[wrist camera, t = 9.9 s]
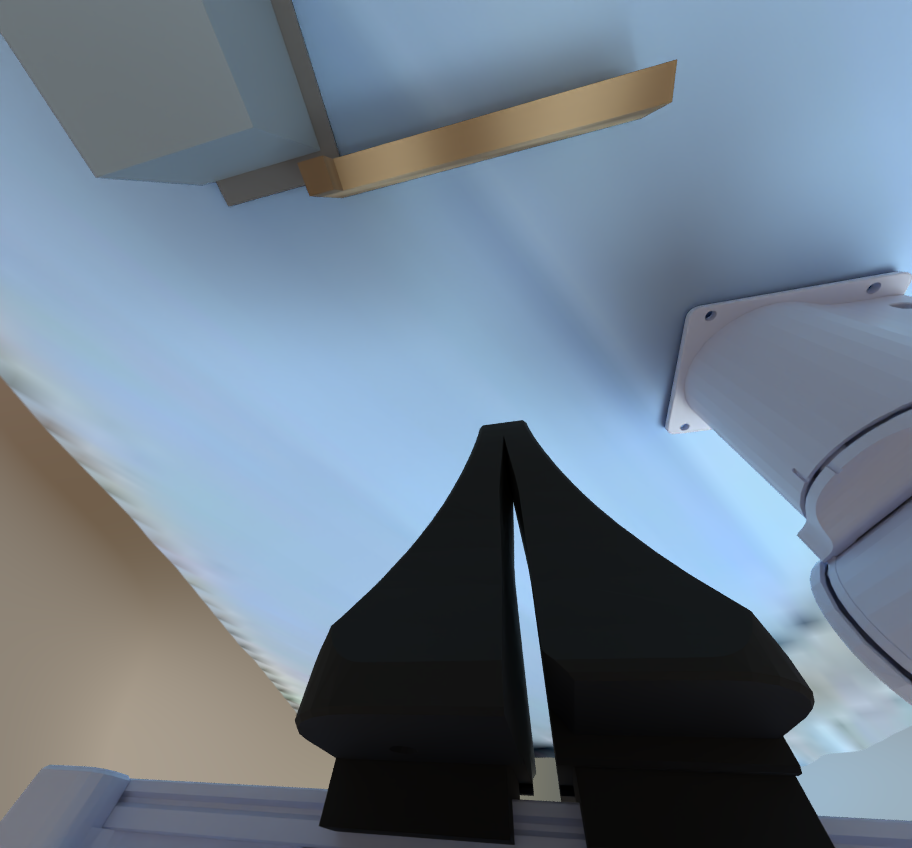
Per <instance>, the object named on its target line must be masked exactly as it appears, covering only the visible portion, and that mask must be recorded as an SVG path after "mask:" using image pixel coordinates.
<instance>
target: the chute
mask: <svg viewBox="0 0 912 848" xmlns="http://www.w3.org/2000/svg"><path fill="white" fill-rule="evenodd" d="M676 65H677V60H673V61H670V62H666V63H663V64H659V65H656V66H652V67H649V68H645V69H642V70H638V71H635V72H632V73H628V74H625V75H621V76H618V77H614V78H611V79H607V80H604V81H600V82H597V83H594V84H590V85H587V86H583V87H580V88H576V89H573V90H569V91H566V92H562V93H559V94H555V95H552V96H549V97H545V98H542V99H538V100H535V101H531V102H528V103H524V104H521V105H517V106H514V107H510V108H507V109H504V110H500V111H497V112H493V113H490V114H486V115H483V116H479V117H476V118H472V119H469V120H466V121H462V122H459V123H455V124H452V125H448V126H445V127H441V128H438V129H434V130H431V131H427V132H424V133H421V134H417V135H414V136H410V137H407V138H403V139H400V140H396V141H393V142H389V143H386V144H383V145H379V146H376V147H372V148H369V149H365V150H362V151H358V152H355V153H351V154H348V155H344V156H341V157H338V158H334V159H332V158H329V157H326V156H323V155H322V156H319V157H315V158H312V159H308V160H305V161H302V162H298V163H297V164H298V166H299V169H300V172H301V174H302V177H303V180H304V183H305V185H306V188H307V191H308V193H309V196H314V197H332V198H344V197H348V196H352V195H356V194H359V193H363V192H367V191H371V190H374V189H378V188H382V187H386V186H389V185H393V184H397V183H401V182H404V181H408V180H412V179H416V178H420V177H423V176H427V175H431V174H435V173H438V172H442V171H446V170H450V169H453V168H457V167H461V166H465V165H468V164H472V163H476V162H480V161H483V160H487V159H491V158H495V157H498V156H502V155H506V154H510V153H513V152H517V151H521V150H525V149H528V148H532V147H536V146H540V145H543V144H547V143H551V142H555V141H558V140H562V139H566V138H570V137H573V136H577V135H581V134H585V133H588V132H592V131H596V130H600V129H603V128H607V127H611V126H615V125H618V124H622V123H626V122H630V121H633V120H637V119H641V118H643V117H645V116H647V115H648V114H650V113H652V112H654V111H656V110H658V109H660V108H662V107H663V106H665V105H667V104H669V103H671V102H672V98H673V90H674V81H675V73H676Z"/></svg>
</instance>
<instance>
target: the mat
mask: <svg viewBox="0 0 912 848" xmlns="http://www.w3.org/2000/svg"><path fill="white" fill-rule="evenodd" d="M270 1H271V4H272V7H273V10H274V13H275V16H276V19H277V21H278V24H279V27H280V30H281V33H282V36H283V39H284V42H285V45H286V48H287V51H288V54H289V57H290V60H291V63H292V66H293V69H294V72H295V75H296V78H297V81H298V84H299V87H300V90H301V93H302V96H303V99H304V102H305V105H306V108H307V111H308V114H309V117H310V120H311V123H312V126H313V129H314V132H315V135H316V138H317V141H318V144H319V147H320V150H321V151H317V152H314V153H311V154H307V155H304V156H300V157H297V158H294V159H290V160H287V161H284V162H280V163H277V164H273V165H270V166H267V167H263V168H260V169H256V170H253V171H250V172H246V173H243V174H240V175H236V176H233V177H229V178H226V179H223V180H219V181H216V183H217V185H218V187H219V189H220V191H221V193H222V195H223V197H224V199H225V201H226V203H227V205H228V206H233V205H236V204H240V203H243V202H247V201H251V200H254V199H258V198H261V197H265V196H269V195H272V194H276V193H279V192H283V191H286V190H290V189H294V188H297V187H301V186H304V185H305V183H304V180H303V177H302V174H301V172H300V169H299V166H298V164H297V163H298V162H302V161H305V160H308V159H312V158H315V157H319V156H322V155H323V156H326V157H329V158H332V159H334V158H338V157H340V154H339V151H338V148H337V145H336V142H335V138H334V135H333V132H332V129H331V126H330V122H329V119H328V116H327V113H326V110H325V106H324V103H323V100H322V97H321V94H320V90H319V87H318V84H317V81H316V78H315V74H314V71H313V68H312V65H311V61H310V58H309V55H308V52H307V49H306V45H305V42H304V39H303V36H302V33H301V29H300V26H299V23H298V20H297V17H296V13H295V10H294V7H293V4H292V1H291V0H270Z"/></svg>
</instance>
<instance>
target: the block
mask: <svg viewBox="0 0 912 848" xmlns="http://www.w3.org/2000/svg"><path fill="white" fill-rule="evenodd" d="M0 33H1V34H2V36H3V37H4V39H5V40H6V42H7V43H8V45H9V46H10V48H11V49H12V51H13V52H14V54H15V55H16V57H17V59H18V60H19V62H20V63H21V65H22V66H23V68H24V69H25V71H26V72H27V74H28V75H29V77H30V78H31V80H32V81H33V83H34V84H35V86H36V87H37V89H38V90H39V92H40V94H41V95H42V97H43V98H44V100H45V101H46V103H47V104H48V106H49V107H50V109H51V110H52V112H53V113H54V115H55V116H56V118H57V119H58V121H59V122H60V124H61V126H62V127H63V129H64V130H65V132H66V133H67V135H68V136H69V138H70V139H71V141H72V142H73V144H74V145H75V147H76V148H77V150H78V151H79V153H80V154H81V156H82V158H83V159H84V161H85V162H86V164H87V165H88V167H89V168H90V170H91V171H92V173H93V174H94V176H95V177H96V178H106V179H120V180H134V181H148V182H161V183H175V184H189V185H206V184H209V183H213V182H216V181H219V180H223V179H226V178H229V177H233V176H236V175H240V174H243V173H246V172H250V171H253V170H256V169H260V168H263V167H267V166H270V165H273V164H277V163H280V162H284V161H287V160H290V159H294V158H297V157H300V156H304V155H307V154H311V153H314V152H317V151H321V150H320V147H319V144H318V141H317V138H316V135H315V132H314V129H313V126H312V123H311V120H310V117H309V114H308V111H307V108H306V105H305V102H304V99H303V96H302V93H301V90H300V87H299V84H298V81H297V78H296V75H295V72H294V69H293V66H292V63H291V60H290V57H289V54H288V51H287V48H286V45H285V42H284V39H283V36H282V33H281V30H280V27H279V24H278V21H277V19H276V16H275V13H274V10H273V7H272V4H271V1H270V0H0Z"/></svg>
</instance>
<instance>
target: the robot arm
mask: <svg viewBox="0 0 912 848" xmlns="http://www.w3.org/2000/svg"><path fill="white" fill-rule="evenodd" d="M911 280H912V275H911V274H910V273H908V272H902V271H896V272H891V273H885V274H879V275H873V276H868V277H862V278H856V279H850V280H845V281H839V282H833V283H828V284H822V285H816V286H810V287H805V288H799V289H793V290H787V291H782V292H776V293H770V294H764V295H759V296H753V297H747V298H741V299H736V300H730V301H724V302H719V303H713V304H707V305H701V306H697V307H694V308H693V309H691V310H690V311H689V312H688V313H687V316H686V319H685V324H684V329H683V335H682V340H681V345H680V350H679V356H678V361H677V366H676V371H675V377H674V382H673V387H672V392H671V398H670V403H669V408H668V413H667V419H666V424H665V429H666V430H667V431H668V432H669V433H670V434H680V433H688V432H697V431H705V430H714V431H715V432H716V433H717V434H718V435H719V436H720V437H721V438H722V439H723V440H724V441H725V442H726V443H727V444H728V445H729V446H730V447H731V448H732V449H734V450H735V451H736V452H737V453H738V454H739V455H740V456H741V457H742V458H743V459H744V460H745V461H746V462H747V463H748V464H749V465H750V466H751V467H752V468H753V469H754V470H755V471H757V472H758V473H759V474H760V475H761V476H762V477H763V478H764V479H765V480H766V481H767V482H768V483H769V484H770V485H771V486H772V487H773V488H774V489H775V490H776V491H777V492H778V493H779V494H781V495H782V496H783V497H784V498H785V499H786V500H787V501H788V502H789V503H790V504H791V505H792V506H793V507H794V508H795V509H796V510H797V511H798V512H799V513H800V514H801V515H802V516H803V517H805V518H806V519H807V520H806V523H805V525H804V526H803V528H802V529H801V530H800V531H799V532H798V534H797V536H798V537H799V538H800V539H801V540H802V541H803V542H804V543H805V544H806V545H807V546H808V547H809V548H810V549H811V550H812V551H813V553H814V554H815V555H816V556H817V557H818V558H819V559H820V561H818V562H817V563H816V564H815V566H814V567H813V569H812V571H811V575H810V584H811V590H812V592H813V595H814V598H815V600H816V602H817V604H818V606H819V608H820V609H821V611H822V613H823V615H824V616H825V618H826V619H827V621H828V622H829V624H830V625H831V626H832V628H833V629H834V630H835V632H836V633H837V634H838V636H839V637H840V638H841V640H842V641H843V642H844V643H845V645H846V646H847V647H848V648H849V649H850V650H851V652H852V653H853V654H854V655H855V656H856V657H857V658H858V659H859V660H860V661H861V662H862V663H863V664H864V665H865V666H866V667H867V668H868V669H869V670H870V671H871V672H872V673H873V674H874V675H875V676H876V677H878V678H879V679H880V680H881V681H882V682H883V683H884V684H886V685H887V686H888V687H889V688H890V689H891V690H893V691H894V692H895V693H896V694H898V695H899V696H900V697H901V698H903V699H904V700H905V701H907V702H908V703H909V704H911V705H912V297H910V296H906V295H904V294H905V292H906V290H907V288H908V286H909V284H910V282H911ZM871 285H872V286H871ZM869 286H871V288H870V289H869V290H867V289H868V288H869ZM710 311H712V314H711V316H709V317H708V318H706V319H705V316H706V314H707V313H708V312H710ZM683 424H685V425H684V426H683V427H681V426H682V425H683ZM513 502H514V507H515V511H516V515H517V520H518V524H519V529H520V533H521V537H522V542H523V546H524V551H525V555H526V560H527V564H528V569H529V574H530V580H531V586H532V593H533V600H534V608H535V615H536V622H537V629H538V637H539V644H540V651H541V658H542V666H543V673H544V680H545V687H546V695H547V702H548V709H549V716H550V724H551V731H552V738H553V746H554V753H555V760H556V766H557V774H558V781H559V789H560V796H561V802H554V801H553V802H551V801H534V800H520V795H528V796H534V791H533V778H534V776H535V774H536V767H535V759H534V750H533V741H532V732H531V724H530V715H529V706H528V697H527V688H526V679H525V670H524V661H523V652H522V642H521V633H520V624H519V615H518V605H517V596H516V586H515V571H514V520H513ZM814 702H815V701H814V696H813V692H812V690H811V689H810V688H809V686H808V685H807V683H806V682H805V680H804V679H803V677H802V676H801V674H800V673H799V671H798V670H797V669H796V667H795V666H794V664H793V663H792V661H791V660H790V659H789V657H788V656H787V655H786V653H785V652H784V651H783V650H782V648H781V647H780V646H779V644H778V643H777V642H776V641H775V639H774V638H773V637H772V636H771V635H770V633H769V632H768V631H767V630H766V629H765V627H764V626H763V625H762V624H761V623H760V621H759V620H758V619H757V618H756V617H755V615H754V614H753V613H752V612H751V611H750V610H748V609H747V608H745V607H743V606H741V605H740V604H738V603H736V602H735V601H733V600H731V599H730V598H728V597H726V596H725V595H723V594H721V593H720V592H718V591H716V590H715V589H713V588H711V587H710V586H708V585H706V584H705V583H703V582H701V581H700V580H698V579H696V578H695V577H693V576H691V575H690V574H688V573H687V572H685V571H684V570H682V569H681V568H679V567H678V566H676V565H675V564H673V563H672V562H670V561H669V560H667V559H666V558H664V557H663V556H661V555H660V554H658V553H657V552H655V551H654V550H653V549H651V548H650V547H649V546H647V545H646V544H645V543H643V542H642V541H641V540H639V539H638V538H637V537H635V536H634V535H632V534H631V533H630V532H628V531H627V530H626V529H624V528H623V527H622V526H620V525H619V524H618V523H616V522H615V521H614V520H613V519H612V518H610V517H609V516H608V515H607V514H606V513H604V512H603V511H602V510H601V509H600V508H598V507H597V506H596V505H595V504H594V503H593V502H592V501H591V500H590V499H588V498H587V497H586V496H585V495H584V494H583V493H582V492H581V491H580V490H579V489H578V488H577V487H576V486H575V485H574V484H573V483H572V482H571V481H570V480H569V479H568V478H567V477H566V476H565V475H564V474H563V473H562V472H561V470H560V469H559V468H558V467H557V466H556V465H555V464H554V462H553V461H552V460H551V459H550V457H549V456H548V455H547V454H546V453H545V451H544V450H543V449H542V447H541V446H540V445H539V443H538V442H537V440H536V439H535V437H534V436H533V434H532V433H531V431H530V429H529V428H528V426H527V423H526V422H524V421H523V420H521V421H513V422H505V423H498V424H490V425H483V426H482V427H481V428H480V430H479V434H478V437H477V440H476V443H475V445H474V448H473V450H472V452H471V455H470V457H469V459H468V461H467V463H466V465H465V467H464V469H463V471H462V473H461V475H460V477H459V479H458V480H457V482H456V484H455V486H454V487H453V489H452V491H451V493H450V494H449V496H448V498H447V499H446V501H445V502H444V504H443V505H442V507H441V508H440V510H439V511H438V513H437V514H436V516H435V517H434V518H433V520H432V521H431V522H430V524H429V525H428V526H427V528H426V529H425V530H424V531H423V533H422V534H421V535H420V537H419V538H418V539H417V540H416V542H415V543H414V544H413V545H412V546H411V548H410V549H409V550H408V551H407V552H406V553H405V554H404V555H403V557H402V558H401V559H400V560H399V561H398V562H397V563H396V564H395V565H394V566H393V567H392V568H391V570H390V571H389V572H388V573H387V574H386V575H385V576H384V577H383V578H382V579H381V580H380V581H379V582H378V583H377V584H376V585H375V586H374V587H373V588H372V589H371V590H370V591H369V592H368V593H367V594H366V595H365V596H364V597H363V598H362V599H360V600H359V601H358V602H357V603H356V604H355V605H354V606H353V607H352V608H351V609H350V610H349V611H348V612H346V613H345V614H344V615H343V616H342V617H341V618H340V619H339V620H338V621H337V622H335V623H334V624H333V625H332V626H331V628H330V630H329V633H328V635H327V637H326V639H325V641H324V643H323V645H322V648H321V650H320V652H319V655H318V657H317V660H316V662H315V665H314V668H313V671H312V673H311V676H310V679H309V682H308V685H307V687H306V690H305V693H304V696H303V699H302V702H301V704H300V707H299V710H298V713H297V716H296V718H295V723H296V725H297V729H298V731H299V734H300V735H302V736H303V737H304V738H305V739H307V740H308V741H310V742H311V743H313V744H314V745H316V746H318V747H319V748H321V749H322V750H324V751H326V752H328V753H329V754H331V755H332V756H334V757H335V758H336V761H335V765H334V768H333V772H332V777H331V780H330V784H329V788H328V789H314V788H296V787H295V788H293V787H276V786H259V785H240V784H222V783H204V782H185V781H167V780H166V781H165V780H148V779H130V778H129V776H128V775H125V774H122V773H119V772H116V771H111V770H107V769H102V768H96V767H85V766H84V767H83V766H64V765H48V766H46V767H44V768H43V769H41V770H40V772H39V773H38V774H37V775H36V777H35V778H34V779H33V781H32V782H31V783H30V784H29V785H28V787H27V788H26V789H25V791H24V792H23V793H22V794H21V796H20V797H19V798H18V800H17V801H16V802H15V803H14V805H13V806H12V807H11V809H10V810H9V811H8V813H7V814H6V815H5V816H4V818H3V819H2V820H1V822H0V848H912V821H903V820H885V819H866V818H848V817H830V816H817V814H816V812H815V810H814V809H813V807H812V805H811V803H810V801H809V800H808V798H807V796H806V794H805V792H804V791H803V789H802V787H801V785H800V783H799V782H798V780H797V778H796V776H799V775H801V774H802V771H801V767H800V765H799V763H798V761H797V759H796V758H795V756H794V754H793V753H792V751H791V749H790V747H789V746H788V744H787V742H786V740H785V739H784V737H783V736H784V735H785V734H786V733H787V732H789V731H790V730H791V729H792V728H794V727H795V726H796V725H797V724H799V723H800V722H801V721H802V720H803V719H805V718H806V717H807V716H808V714H809V713H810V712H811V710H812V709H813V705H814Z"/></svg>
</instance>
